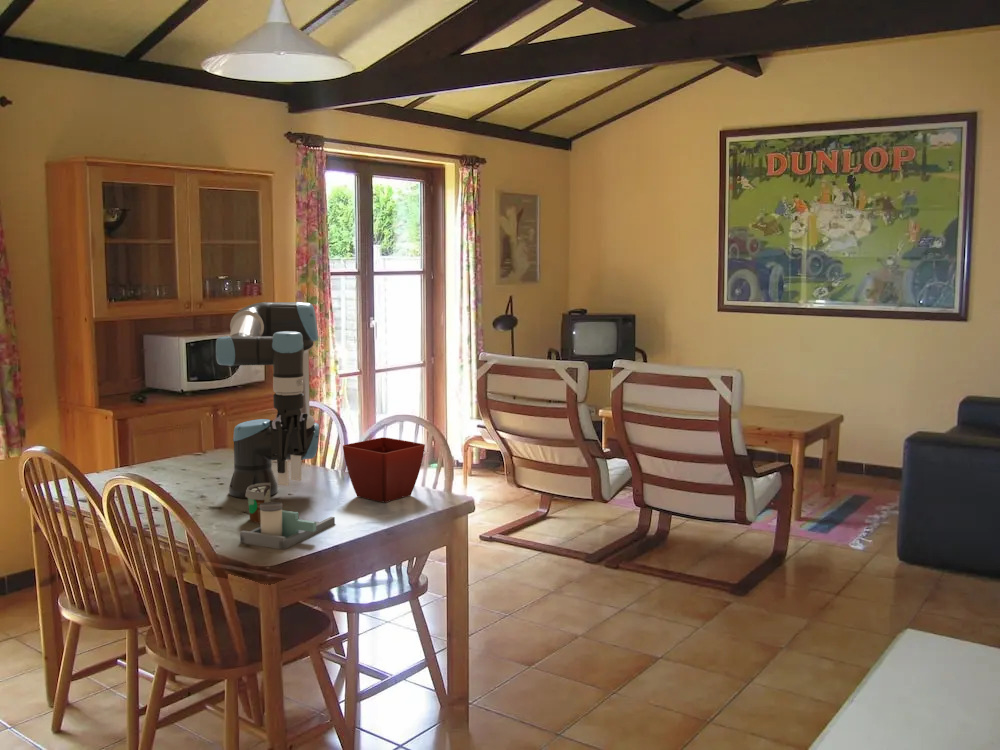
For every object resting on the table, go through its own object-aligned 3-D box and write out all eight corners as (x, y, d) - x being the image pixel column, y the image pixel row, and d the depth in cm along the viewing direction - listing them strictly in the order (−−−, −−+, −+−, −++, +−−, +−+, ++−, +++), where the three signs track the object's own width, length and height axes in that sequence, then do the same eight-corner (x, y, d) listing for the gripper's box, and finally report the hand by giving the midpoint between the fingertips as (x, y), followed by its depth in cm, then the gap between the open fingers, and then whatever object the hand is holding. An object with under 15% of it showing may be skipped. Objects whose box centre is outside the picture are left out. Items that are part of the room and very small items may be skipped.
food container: (250, 515, 279) (249, 482, 277) (271, 515, 279) (270, 482, 278) (242, 527, 266) (241, 493, 265) (264, 527, 267) (263, 492, 266)
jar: (256, 542, 250) (255, 506, 249) (269, 536, 255) (268, 500, 254) (274, 545, 248) (273, 508, 247) (287, 539, 253) (286, 503, 252)
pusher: (263, 534, 257) (262, 509, 256) (268, 531, 259) (268, 507, 258) (313, 541, 251) (312, 516, 250) (318, 539, 253) (318, 513, 252)
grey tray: (239, 545, 250) (239, 531, 250) (293, 521, 273) (293, 508, 273) (284, 552, 245) (283, 538, 245) (335, 526, 268) (335, 513, 268)
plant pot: (383, 485, 316) (383, 436, 313) (426, 495, 304) (426, 444, 302) (341, 497, 300) (340, 445, 298) (384, 507, 289) (384, 453, 287)
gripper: (280, 398, 230) (281, 492, 233) (320, 389, 246) (321, 476, 249) (254, 396, 233) (256, 488, 236) (296, 387, 249) (297, 473, 252)
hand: (289, 482), depth 242 cm, fingers open, 5 cm apart
